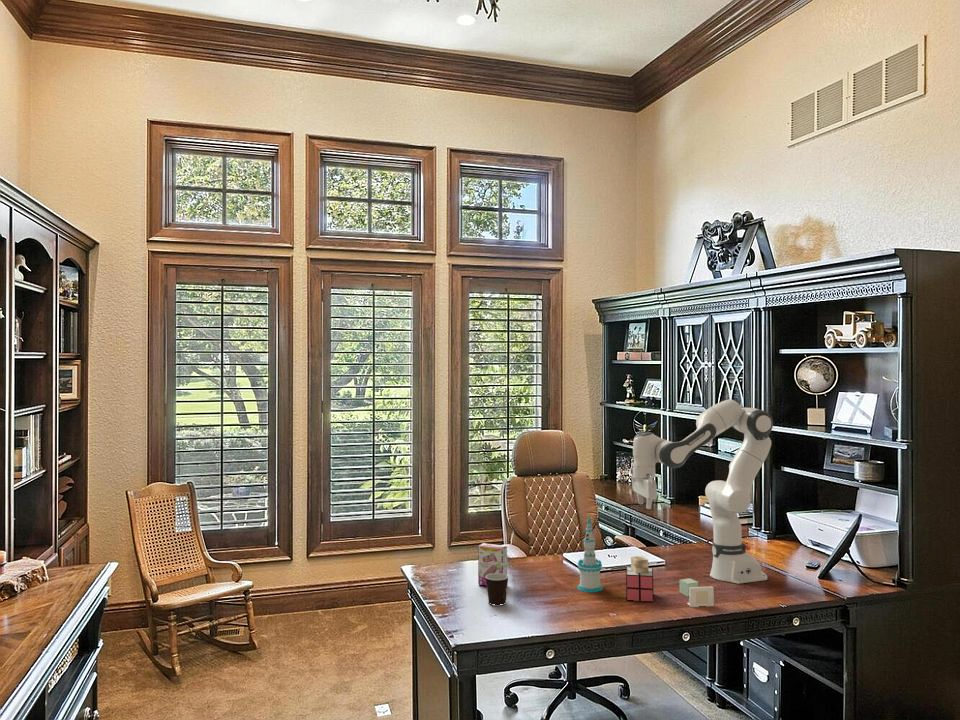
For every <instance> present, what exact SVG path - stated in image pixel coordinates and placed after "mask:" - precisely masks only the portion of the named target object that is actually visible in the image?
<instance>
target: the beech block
mask: <svg viewBox="0 0 960 720" xmlns="http://www.w3.org/2000/svg"><path fill="white" fill-rule="evenodd" d="M630 567H631V570H632V571H633V572H634V573H636V574H639V573H648V568H649V558H647V557H645V556H643V555H640V556H639V555H637V556H630Z"/></svg>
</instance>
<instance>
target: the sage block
mask: <svg viewBox="0 0 960 720" xmlns="http://www.w3.org/2000/svg"><path fill="white" fill-rule="evenodd" d="M678 581H679V593H680V594H682V595H684V596H686V597H689V588H690V587H699V581H697V580H694V579H692V578H684V579H678Z"/></svg>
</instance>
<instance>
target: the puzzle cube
mask: <svg viewBox="0 0 960 720" xmlns="http://www.w3.org/2000/svg"><path fill="white" fill-rule="evenodd" d="M625 570H626V572H625V581H626V582H625V585H626V586H625V589H626V591H625V593H626V601H627V600H633V601H632V602H641V601H652V602H651V603H654V602H653V601H654V600H655V599H654V569H653V568H650V567H648V573H639V574H636V573H634V572H633V571H632V570H631V566H628V567H626V569H625Z"/></svg>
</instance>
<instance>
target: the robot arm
mask: <svg viewBox="0 0 960 720" xmlns="http://www.w3.org/2000/svg"><path fill="white" fill-rule="evenodd" d="M695 420H696V421H695V425H696V426H695V427H696V430H694V432H692V433H690V434H689V435H688V436H686V437H685V438H684V439H682V440H680V441H675V442H673V441H670V440H667V439H665V438H661V437H659V436H658V435H655V434H654V433H653V432H651V431H647V432H645V431H644V432H639V433H637V434H636V435H634V438H633V441H632V442H633V444H632V456H633V464H632V468H630V469H629V470H630V474H631V487H632V491H633V492H635V493H636V497H637V503H638V504H639V505H644V499H643V497H644V498H645V499H646V504H645V508H646V509H647V510H652V505H653V501H654V500H657V498H658V487H657V482H656V480H655V479H654V478H656V465H657V463H660V464H662V465H664V466H666V467H667V468H670V469H679V468H680V467H682V466H684V464H685V463H686V462H687V461H688V459H690V456H691V455H693V454H694V453H695V452H696V451H699V449H700V448H702V447H703V446H704V445H706V444H707V443H709V442H710V441H711V440H712V439H714V438H715V437H717V436H719V435H720V434H722V433H723V432H725V431H726V430H728V429H730V428H732V429H733V430H735V431H737V432H740V433H742V434H743V435H744V438H743V442H742V443H741V444H740V446H739V448H738V449H737V451H736V453H735V454H734V456H733V457H732V459H731V461H730V463H729V465H728V469H729V470H728V475H727V479H726V480H720V479H719V480H712V481H710V482H708V484H706V487H705V490H704V492H705V493H704V494H705V497H706V500H707V501H708V505H709V509H710V513H711V519H712V528H713V531H712V532H713V541H712V550H711V551H712V563H711V569H710V573H709V576H710V578H713V579H715V580H718V581H722V582H728V583H729V582H730V583H734V584H738V585H739V584H744V583H753V582H761V581H767V580H768V575H767V574H766V573H765V572H763V571H762V567H761V564H760V563H759V561H758V560H757V559H756V558H754V557H753V556H752V555H751V554H749V553H748V552H749V551H751V546H750V545H748V544H745V543H743V542H742V539H743V538H742V537H743V536H742V535H743V533H742V522H741V521H740V519H739V516H738V514H741V513H745V512H746V511H747V510H748V509H749V507H750V506H751V496H750V494H751V490H752V486H753V483H754V480H755V479H756V476H757V475H758V473H759V472H760V469H761V468H762V466H763V465H764V462H765V461H766V459H767V457H768V455H769V452H770V450H771V447H772V440H771V438H770V437H771V436H770V435H771V433H772V430H773V426H774V420H773V417H772V415H770V413H768V412H767V411H765V410H763V409H758V408H755V407H745V406H741V405H740V404H739V403H738V402H737V401H736V400H735V399H730V398H729V399H726V400H721V401H720V402H718V403H716V404H714V405H712V406H710V407H709V408H707V409H706V410H704V411H702V412H701V413H700V414H699V415H698V416H697V417H696V419H695Z"/></svg>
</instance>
